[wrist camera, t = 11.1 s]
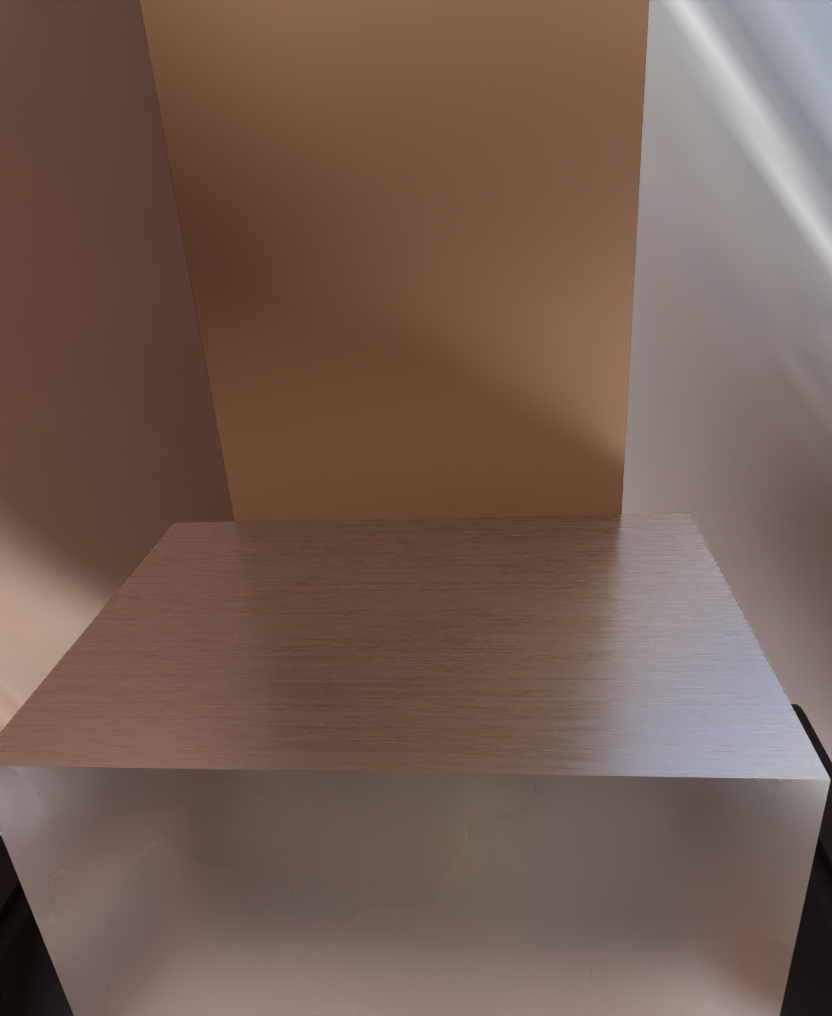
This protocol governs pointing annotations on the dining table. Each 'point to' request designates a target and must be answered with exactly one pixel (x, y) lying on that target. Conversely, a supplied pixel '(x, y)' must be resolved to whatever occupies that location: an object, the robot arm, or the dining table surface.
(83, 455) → the dining table surface
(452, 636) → the white block brass knobs
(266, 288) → the body
